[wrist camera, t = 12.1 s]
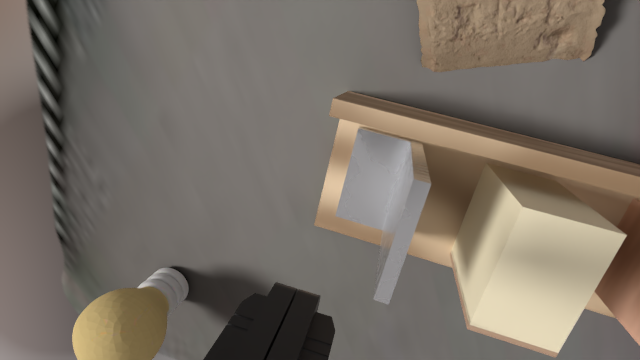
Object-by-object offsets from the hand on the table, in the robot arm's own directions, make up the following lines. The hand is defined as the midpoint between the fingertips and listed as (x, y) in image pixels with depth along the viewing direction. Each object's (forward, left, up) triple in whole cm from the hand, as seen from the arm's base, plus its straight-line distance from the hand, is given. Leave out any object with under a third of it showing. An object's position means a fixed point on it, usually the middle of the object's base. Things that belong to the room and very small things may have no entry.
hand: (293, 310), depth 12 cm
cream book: (0, +11, -16) cm, 19 cm away
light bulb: (+16, -14, -17) cm, 27 cm away
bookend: (0, +2, -16) cm, 16 cm away
